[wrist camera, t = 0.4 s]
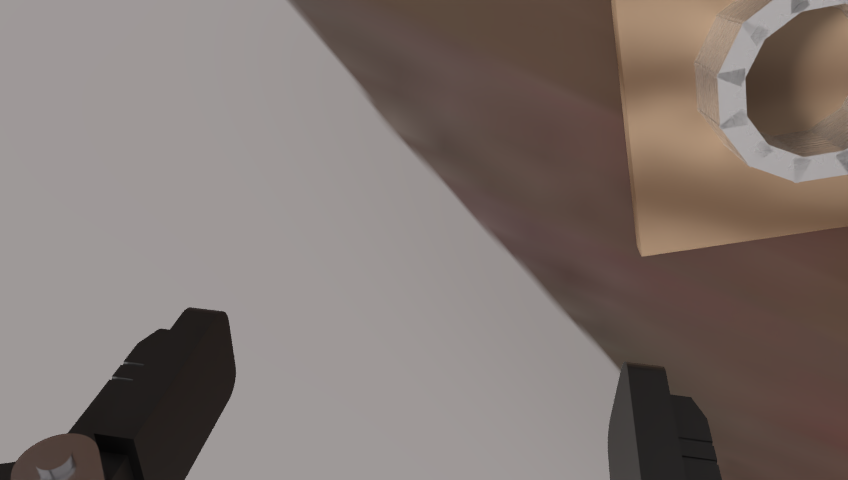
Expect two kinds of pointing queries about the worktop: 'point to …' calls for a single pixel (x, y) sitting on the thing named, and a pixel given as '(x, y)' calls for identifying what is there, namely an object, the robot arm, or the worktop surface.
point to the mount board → (701, 147)
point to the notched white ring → (726, 94)
